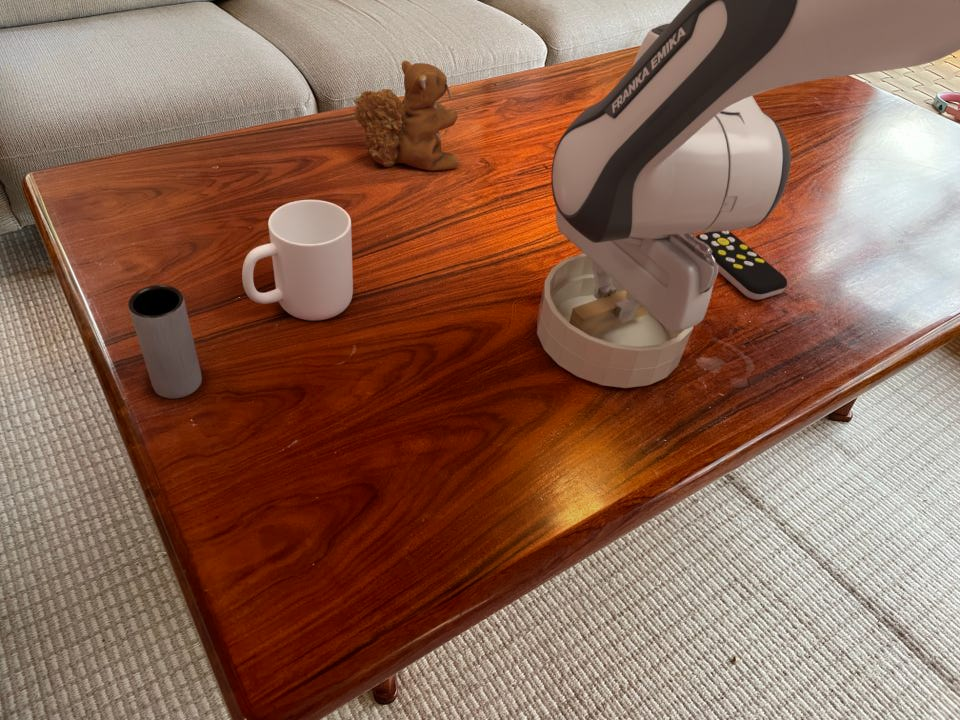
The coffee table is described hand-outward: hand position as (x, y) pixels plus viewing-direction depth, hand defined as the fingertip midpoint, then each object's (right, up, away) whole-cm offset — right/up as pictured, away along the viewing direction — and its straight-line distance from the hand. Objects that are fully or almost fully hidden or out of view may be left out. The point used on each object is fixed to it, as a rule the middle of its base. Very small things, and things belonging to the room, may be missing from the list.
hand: (612, 308), depth 80 cm
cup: (-34, 0, +1) cm, 34 cm away
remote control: (+18, +6, +15) cm, 24 cm away
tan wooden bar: (0, -1, +1) cm, 2 cm away
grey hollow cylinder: (-44, -8, -9) cm, 45 cm away
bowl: (0, -3, +2) cm, 4 cm away
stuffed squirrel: (-25, +24, +27) cm, 44 cm away
